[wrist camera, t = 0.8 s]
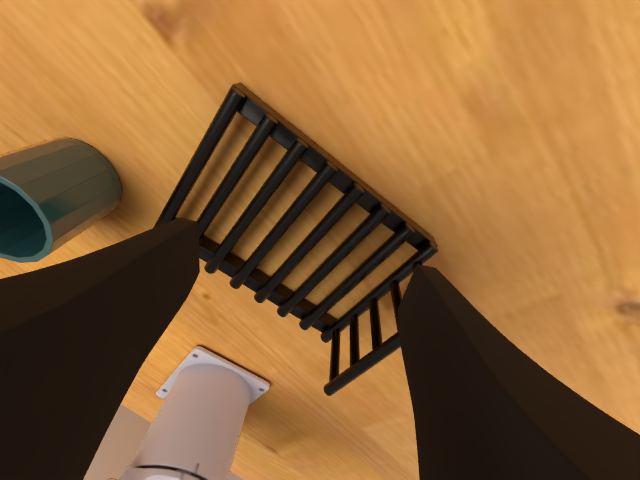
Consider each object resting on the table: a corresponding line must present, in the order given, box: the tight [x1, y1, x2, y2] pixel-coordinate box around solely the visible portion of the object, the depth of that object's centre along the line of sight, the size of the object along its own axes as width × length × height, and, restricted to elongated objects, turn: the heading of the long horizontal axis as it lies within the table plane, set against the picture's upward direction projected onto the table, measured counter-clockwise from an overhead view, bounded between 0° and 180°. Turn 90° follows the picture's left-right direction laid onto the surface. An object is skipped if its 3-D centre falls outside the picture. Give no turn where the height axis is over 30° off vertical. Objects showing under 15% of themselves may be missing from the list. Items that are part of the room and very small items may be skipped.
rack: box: [153, 83, 438, 396], centre depth 19 cm, size 11×15×7 cm
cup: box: [0, 138, 121, 263], centre depth 18 cm, size 5×5×6 cm
